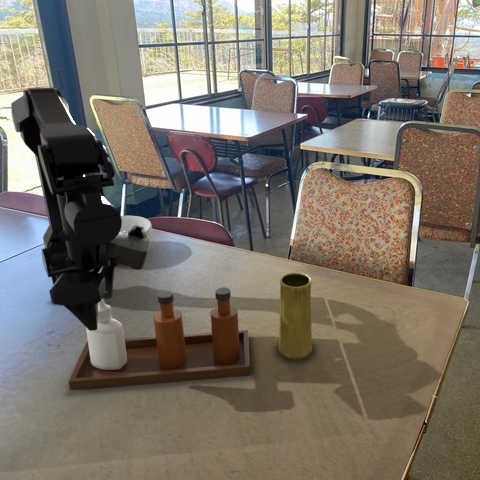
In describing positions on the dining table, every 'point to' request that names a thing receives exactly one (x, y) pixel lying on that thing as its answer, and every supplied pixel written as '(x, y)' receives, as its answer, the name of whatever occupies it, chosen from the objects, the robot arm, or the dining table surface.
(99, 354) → the eye dropper bottle
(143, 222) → the cereal bowl
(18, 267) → the dining table surface
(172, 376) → the tray
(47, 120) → the robot arm
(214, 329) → the amber bottle
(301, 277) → the vase
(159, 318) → the amber bottle
